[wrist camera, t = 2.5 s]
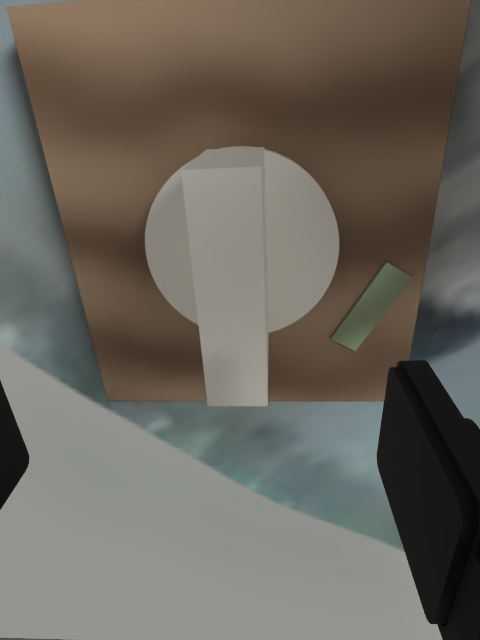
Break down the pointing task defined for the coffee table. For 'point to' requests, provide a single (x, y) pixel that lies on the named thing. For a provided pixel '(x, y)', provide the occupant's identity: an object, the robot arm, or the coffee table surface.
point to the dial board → (246, 130)
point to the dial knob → (241, 258)
